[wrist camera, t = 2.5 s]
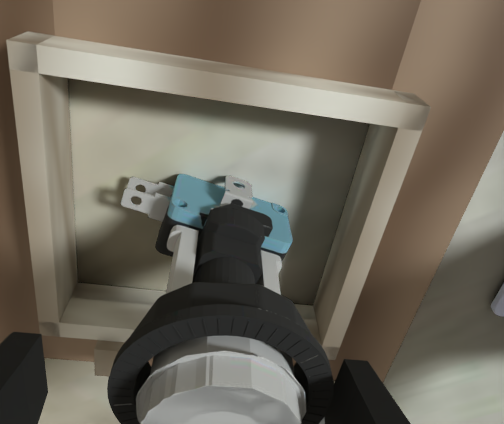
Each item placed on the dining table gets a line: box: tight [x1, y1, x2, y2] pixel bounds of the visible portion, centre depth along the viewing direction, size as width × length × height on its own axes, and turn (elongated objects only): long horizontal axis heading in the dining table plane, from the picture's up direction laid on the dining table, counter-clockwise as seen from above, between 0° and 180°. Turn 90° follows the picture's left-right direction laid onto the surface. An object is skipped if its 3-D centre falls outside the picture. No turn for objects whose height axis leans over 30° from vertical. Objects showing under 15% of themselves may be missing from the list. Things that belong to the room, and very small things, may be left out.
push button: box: [107, 174, 334, 424], centre depth 14 cm, size 7×5×10 cm
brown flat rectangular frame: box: [0, 0, 504, 383], centre depth 17 cm, size 20×18×3 cm
